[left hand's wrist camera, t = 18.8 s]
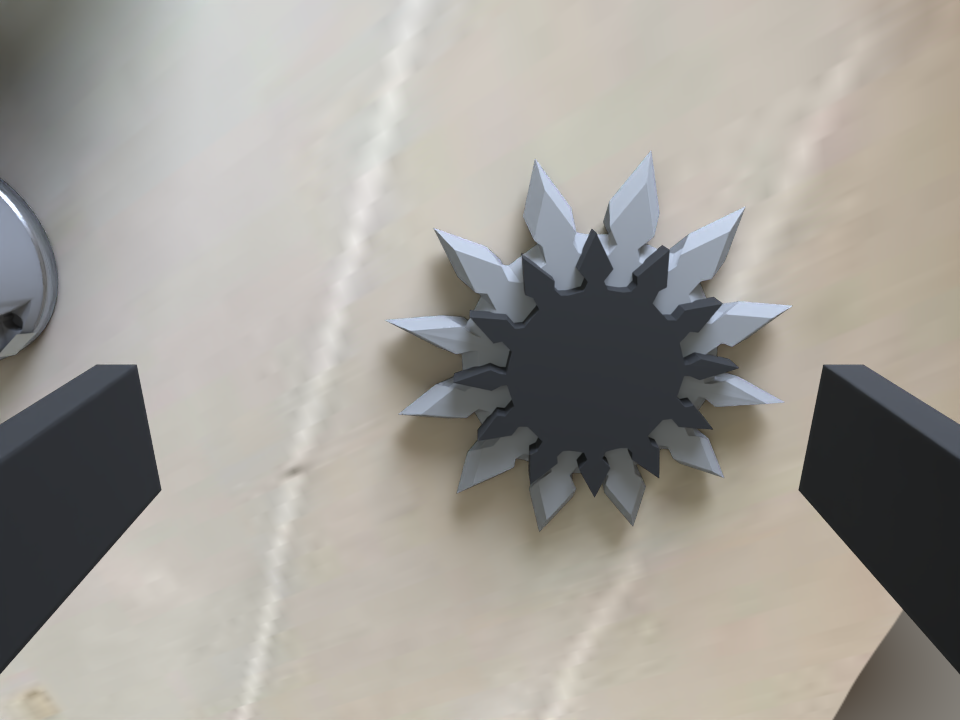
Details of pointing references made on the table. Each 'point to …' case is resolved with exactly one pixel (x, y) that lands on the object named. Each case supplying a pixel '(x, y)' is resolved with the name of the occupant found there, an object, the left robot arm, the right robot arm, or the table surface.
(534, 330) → the decorative piece
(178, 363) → the table surface
